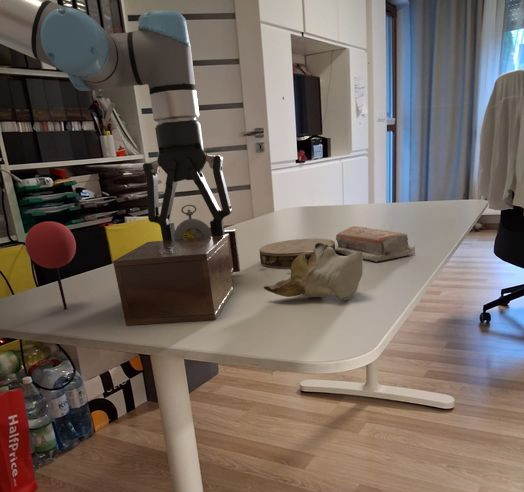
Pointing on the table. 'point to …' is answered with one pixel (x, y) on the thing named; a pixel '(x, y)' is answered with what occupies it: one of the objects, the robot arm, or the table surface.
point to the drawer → (232, 250)
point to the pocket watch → (191, 227)
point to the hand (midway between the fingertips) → (196, 258)
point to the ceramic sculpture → (322, 274)
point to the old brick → (373, 243)
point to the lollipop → (51, 247)
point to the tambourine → (288, 251)
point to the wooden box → (175, 280)
